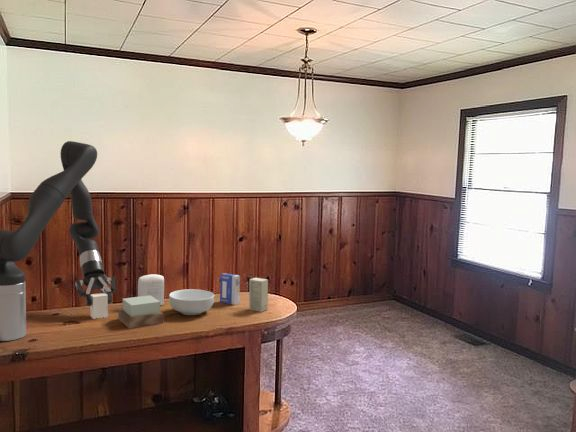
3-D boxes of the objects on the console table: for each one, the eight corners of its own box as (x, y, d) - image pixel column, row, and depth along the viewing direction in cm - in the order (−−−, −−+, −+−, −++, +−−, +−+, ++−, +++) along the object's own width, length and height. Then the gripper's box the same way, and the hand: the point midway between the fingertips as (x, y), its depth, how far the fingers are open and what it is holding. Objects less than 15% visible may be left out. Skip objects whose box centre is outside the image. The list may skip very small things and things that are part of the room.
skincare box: (267, 309, 192) (268, 279, 191) (261, 312, 188) (262, 281, 187) (254, 306, 195) (255, 277, 194) (248, 309, 192) (249, 278, 190)
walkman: (219, 302, 201) (220, 273, 200) (223, 300, 203) (224, 272, 202) (235, 305, 197) (236, 275, 196) (239, 303, 199) (240, 274, 198)
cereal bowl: (198, 321, 174) (198, 302, 174) (159, 315, 180) (159, 296, 180) (222, 309, 190) (222, 292, 189) (185, 304, 196) (185, 286, 195)
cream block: (93, 319, 173) (93, 296, 172) (90, 316, 176) (90, 294, 175) (107, 317, 176) (107, 295, 175) (104, 314, 179) (104, 292, 178)
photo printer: (161, 302, 197) (162, 272, 196) (165, 305, 193) (165, 274, 192) (136, 305, 191) (136, 274, 190) (139, 308, 188) (139, 276, 186)
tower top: (131, 316, 166) (131, 305, 165) (122, 309, 174) (122, 298, 173) (159, 312, 171) (160, 301, 171) (150, 306, 179) (150, 295, 179)
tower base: (128, 329, 164) (128, 318, 164) (118, 320, 174) (118, 309, 174) (163, 324, 171) (163, 313, 171) (151, 315, 181) (151, 305, 181)
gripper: (72, 260, 176) (80, 300, 168) (113, 257, 184) (123, 295, 176) (69, 272, 181) (77, 312, 172) (109, 269, 189) (118, 306, 181)
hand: (100, 303), depth 174 cm, fingers open, 6 cm apart
